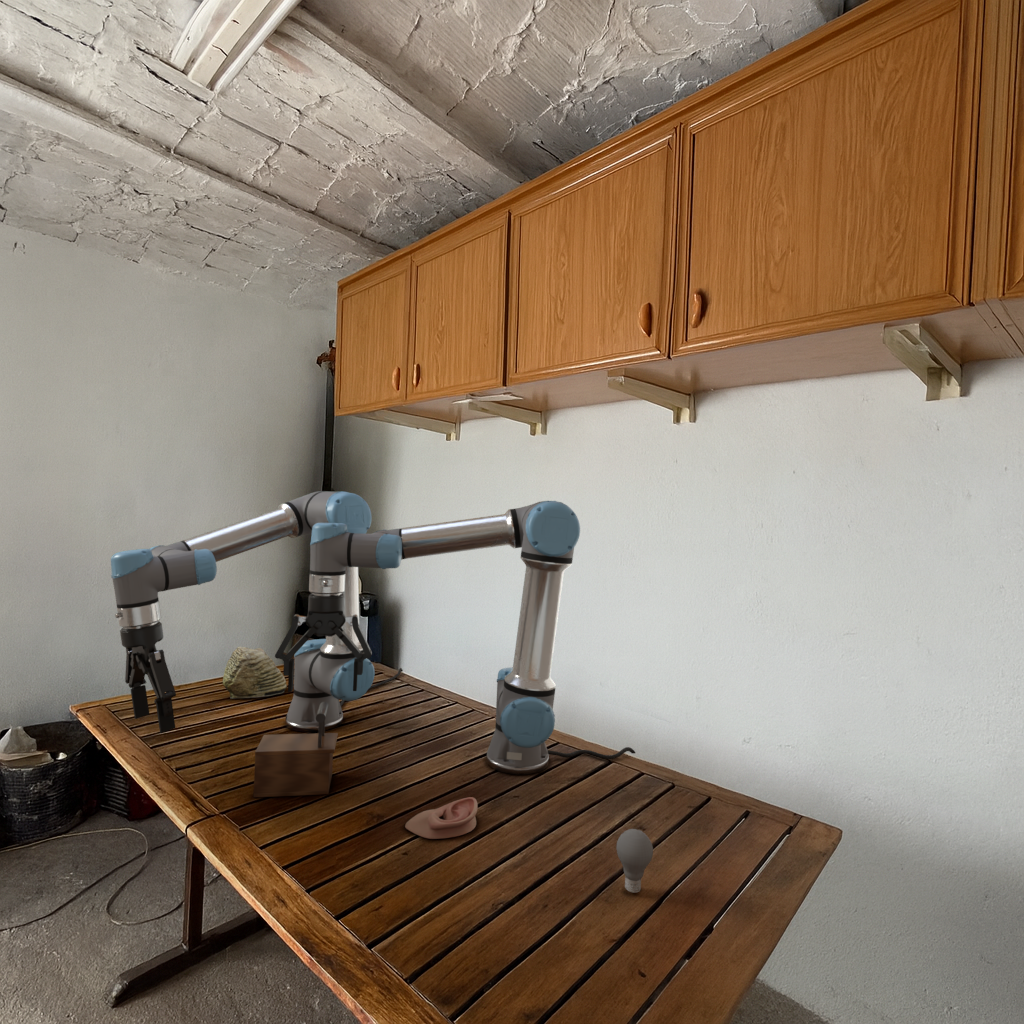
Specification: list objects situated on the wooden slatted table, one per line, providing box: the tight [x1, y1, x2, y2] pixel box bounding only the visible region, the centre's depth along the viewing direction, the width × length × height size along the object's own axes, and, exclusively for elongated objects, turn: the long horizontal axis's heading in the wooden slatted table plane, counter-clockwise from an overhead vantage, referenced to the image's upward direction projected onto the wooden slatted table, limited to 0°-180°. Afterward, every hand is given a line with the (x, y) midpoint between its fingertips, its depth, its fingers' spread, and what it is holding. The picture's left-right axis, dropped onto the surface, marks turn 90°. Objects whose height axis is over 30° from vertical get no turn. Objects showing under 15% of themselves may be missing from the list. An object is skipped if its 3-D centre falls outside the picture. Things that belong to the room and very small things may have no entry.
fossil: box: [222, 646, 288, 699], centre depth 198 cm, size 9×18×15 cm, turn 132°
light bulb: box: [615, 828, 654, 894], centre depth 106 cm, size 6×6×10 cm
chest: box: [253, 753, 334, 798], centre depth 138 cm, size 15×10×9 cm, turn 101°
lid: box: [254, 702, 339, 757], centre depth 138 cm, size 16×10×8 cm, turn 101°
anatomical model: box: [404, 796, 479, 840], centre depth 124 cm, size 13×4×12 cm
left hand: (154, 723), depth 133 cm, fingers open, 13 cm apart
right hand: (323, 689), depth 139 cm, fingers open, 13 cm apart
